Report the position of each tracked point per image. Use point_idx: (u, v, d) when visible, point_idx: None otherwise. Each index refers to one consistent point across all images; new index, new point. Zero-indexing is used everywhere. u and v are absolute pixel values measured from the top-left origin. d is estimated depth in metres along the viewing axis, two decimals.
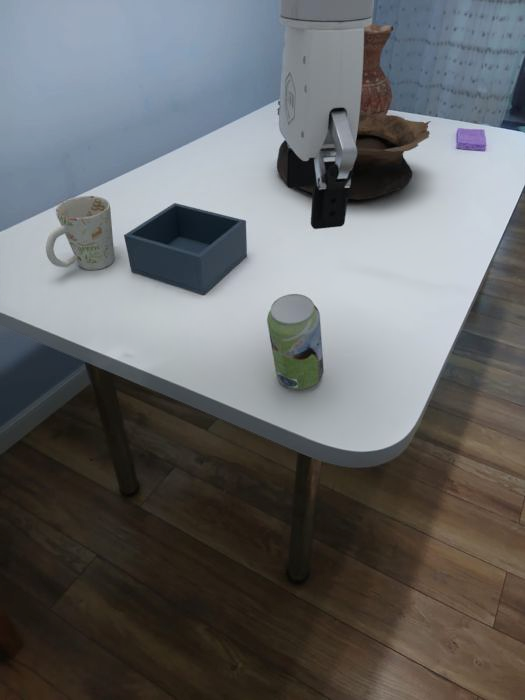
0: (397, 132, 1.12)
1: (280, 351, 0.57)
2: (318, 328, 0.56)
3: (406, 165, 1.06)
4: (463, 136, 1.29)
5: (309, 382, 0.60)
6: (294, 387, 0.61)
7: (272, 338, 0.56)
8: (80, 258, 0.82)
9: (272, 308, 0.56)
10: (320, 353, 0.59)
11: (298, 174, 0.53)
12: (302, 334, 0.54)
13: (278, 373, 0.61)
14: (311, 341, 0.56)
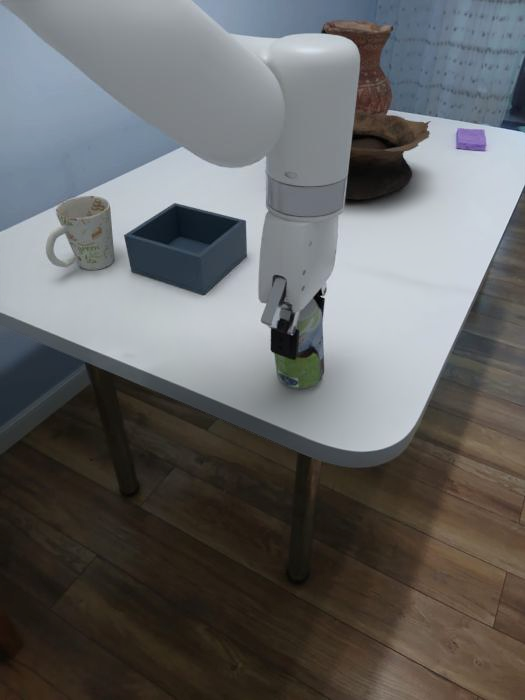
0: (397, 132, 1.12)
1: None
2: (320, 326, 0.56)
3: (406, 165, 1.06)
4: (463, 136, 1.29)
5: (310, 382, 0.60)
6: (295, 386, 0.61)
7: None
8: (80, 258, 0.82)
9: None
10: (321, 352, 0.59)
11: None
12: (304, 332, 0.54)
13: (279, 372, 0.61)
14: (313, 339, 0.56)
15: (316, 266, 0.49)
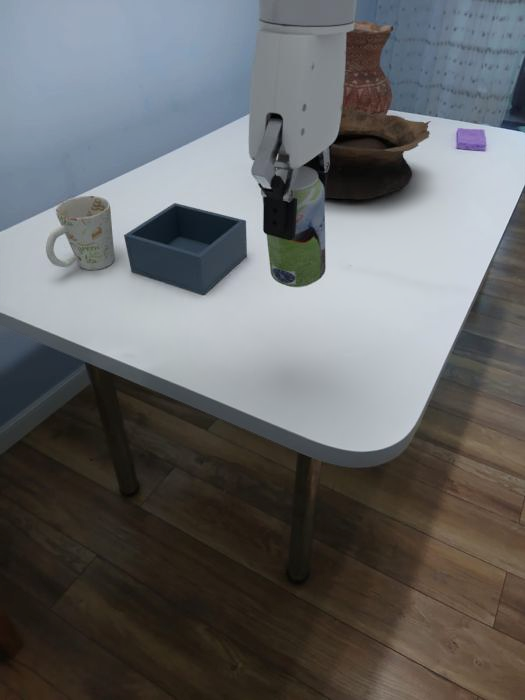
0: (397, 132, 1.12)
1: None
2: (322, 203, 0.47)
3: (406, 165, 1.06)
4: (463, 136, 1.29)
5: (309, 278, 0.52)
6: (291, 283, 0.52)
7: None
8: (80, 258, 0.82)
9: None
10: (323, 240, 0.50)
11: None
12: (303, 205, 0.46)
13: (273, 267, 0.52)
14: (314, 217, 0.47)
15: (319, 108, 0.40)
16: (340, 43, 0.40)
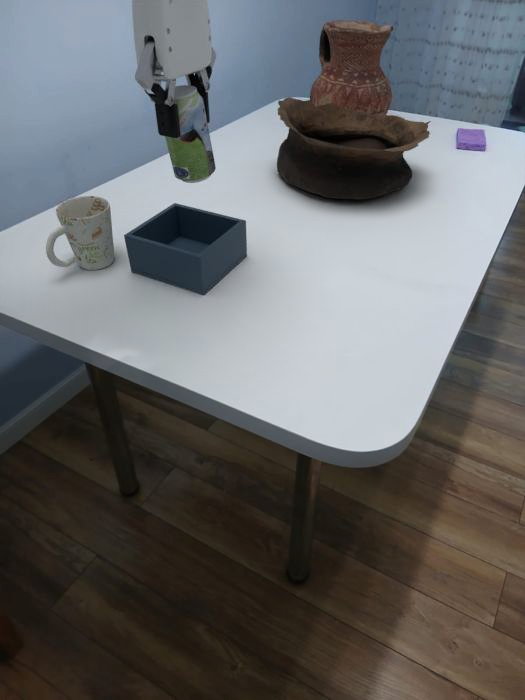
0: (397, 132, 1.12)
1: None
2: (201, 111, 0.64)
3: (406, 165, 1.06)
4: (463, 136, 1.29)
5: (200, 173, 0.69)
6: (187, 178, 0.69)
7: None
8: (80, 258, 0.82)
9: None
10: (207, 143, 0.67)
11: None
12: (184, 110, 0.63)
13: (173, 166, 0.69)
14: (195, 121, 0.64)
15: (183, 33, 0.57)
16: None
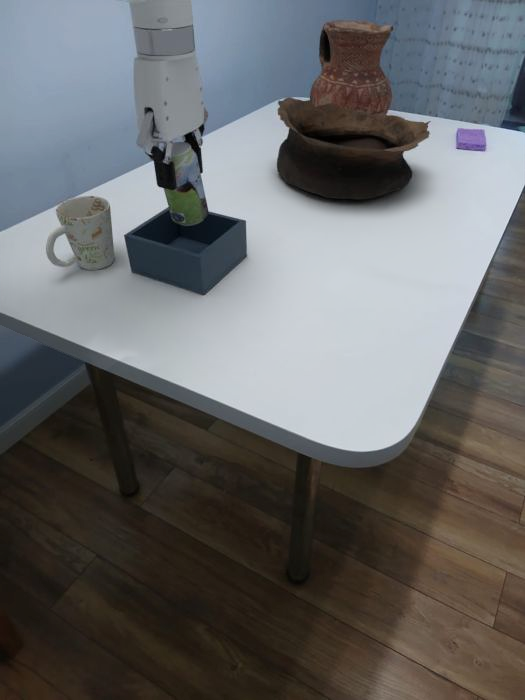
0: (397, 132, 1.12)
1: None
2: (195, 165, 0.72)
3: (406, 165, 1.06)
4: (463, 136, 1.29)
5: (194, 218, 0.77)
6: (183, 222, 0.77)
7: None
8: (80, 258, 0.82)
9: None
10: (201, 192, 0.75)
11: None
12: (180, 166, 0.71)
13: (170, 212, 0.77)
14: (189, 175, 0.72)
15: (178, 103, 0.65)
16: (189, 63, 0.65)
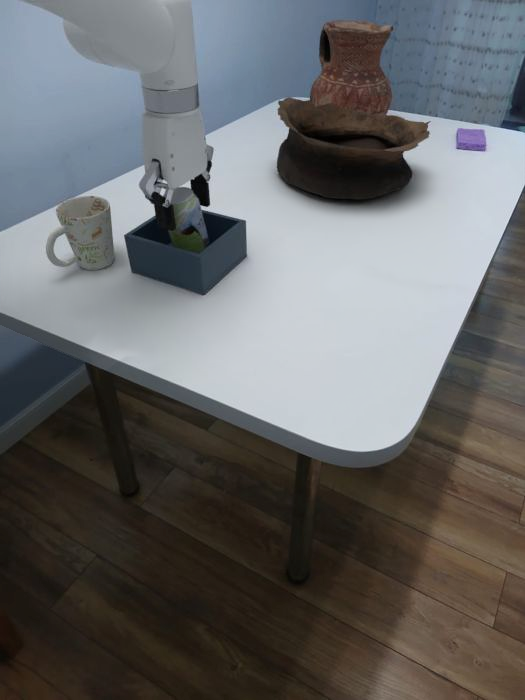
0: (397, 132, 1.12)
1: None
2: (197, 210, 0.77)
3: (406, 165, 1.06)
4: (463, 136, 1.29)
5: None
6: None
7: None
8: (80, 258, 0.82)
9: None
10: (203, 233, 0.80)
11: None
12: (183, 212, 0.75)
13: None
14: (192, 219, 0.77)
15: (183, 154, 0.70)
16: (194, 117, 0.69)
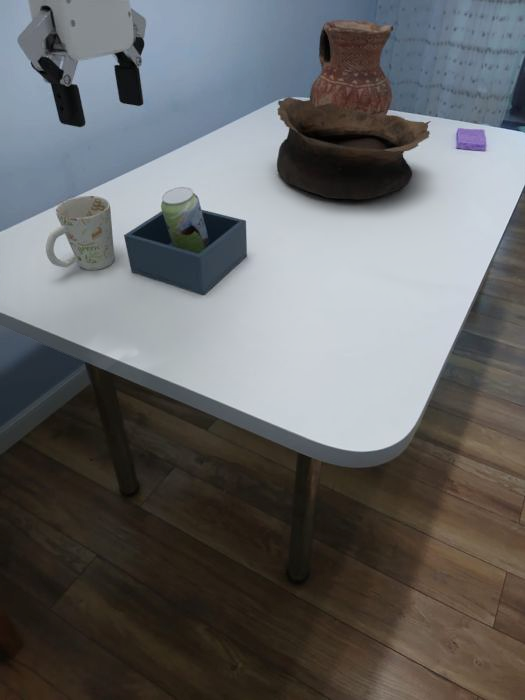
0: (397, 132, 1.12)
1: (171, 228, 0.78)
2: (197, 210, 0.77)
3: (406, 165, 1.06)
4: (463, 136, 1.29)
5: None
6: None
7: (165, 218, 0.77)
8: (80, 258, 0.82)
9: (164, 196, 0.77)
10: (203, 233, 0.80)
11: (124, 90, 0.58)
12: (183, 212, 0.75)
13: None
14: (192, 219, 0.77)
15: (89, 4, 0.47)
16: None
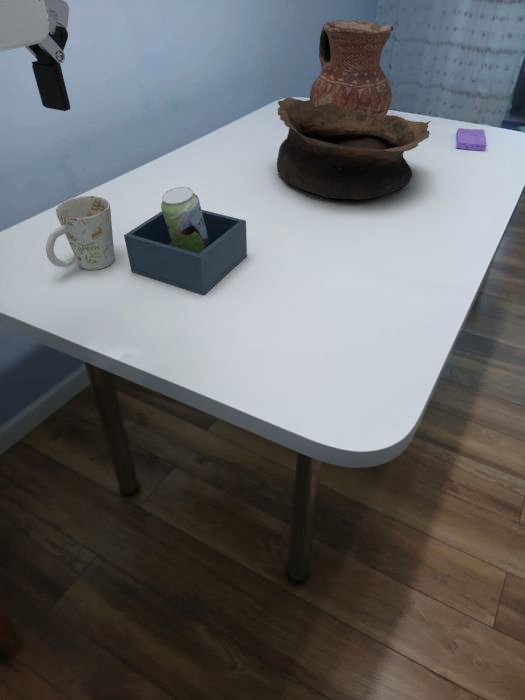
0: (397, 132, 1.12)
1: (171, 228, 0.78)
2: (197, 210, 0.77)
3: (406, 165, 1.06)
4: (463, 136, 1.29)
5: None
6: None
7: (165, 218, 0.77)
8: (80, 258, 0.82)
9: (164, 196, 0.77)
10: (203, 233, 0.80)
11: (46, 92, 0.48)
12: (183, 212, 0.75)
13: None
14: (192, 219, 0.77)
15: None
16: None
